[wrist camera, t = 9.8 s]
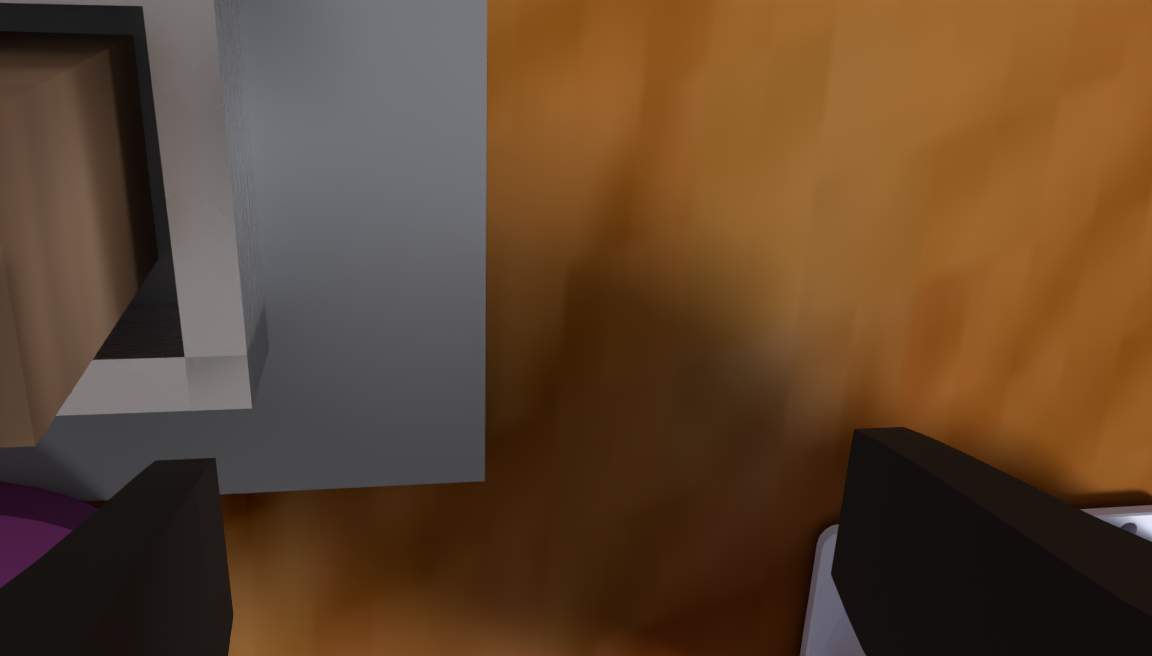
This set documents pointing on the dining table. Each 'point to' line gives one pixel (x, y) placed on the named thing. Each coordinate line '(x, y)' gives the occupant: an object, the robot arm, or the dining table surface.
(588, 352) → the dining table surface
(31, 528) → the mounting bracket
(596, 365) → the dining table surface
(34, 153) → the walnut peg
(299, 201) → the socket board
